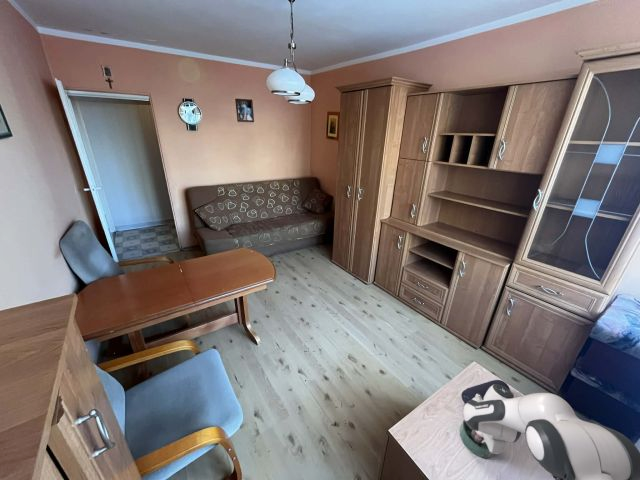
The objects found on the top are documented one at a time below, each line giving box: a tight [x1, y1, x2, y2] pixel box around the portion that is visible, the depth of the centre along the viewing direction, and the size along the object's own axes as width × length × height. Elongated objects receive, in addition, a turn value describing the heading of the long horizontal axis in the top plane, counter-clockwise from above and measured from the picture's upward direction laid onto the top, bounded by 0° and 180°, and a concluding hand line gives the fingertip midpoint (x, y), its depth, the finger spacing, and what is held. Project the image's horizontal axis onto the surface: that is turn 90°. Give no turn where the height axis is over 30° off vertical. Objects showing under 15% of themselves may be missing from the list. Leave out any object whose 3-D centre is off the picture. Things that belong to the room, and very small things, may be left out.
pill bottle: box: [470, 430, 484, 446], centre depth 116 cm, size 5×5×10 cm
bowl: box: [458, 419, 494, 459], centre depth 117 cm, size 14×14×6 cm
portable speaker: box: [460, 379, 511, 404], centre depth 132 cm, size 25×10×10 cm, turn 107°
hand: (479, 433), depth 116 cm, fingers closed on pill bottle, 5 cm apart
